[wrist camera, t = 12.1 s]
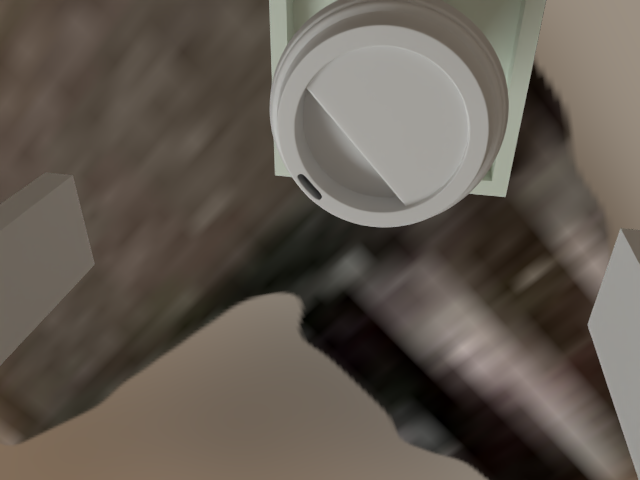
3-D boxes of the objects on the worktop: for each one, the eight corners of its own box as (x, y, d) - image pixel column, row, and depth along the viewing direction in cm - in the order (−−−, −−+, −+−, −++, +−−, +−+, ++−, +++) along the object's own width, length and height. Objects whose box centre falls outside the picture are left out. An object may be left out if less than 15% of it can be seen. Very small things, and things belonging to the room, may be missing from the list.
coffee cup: (304, -11, 33) (216, 47, 20) (469, -70, 30) (485, -46, 17) (353, 138, 37) (304, 263, 25) (502, 100, 34) (533, 219, 21)
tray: (277, -125, 31) (264, -127, 29) (562, -123, 29) (572, -125, 26) (284, 160, 40) (275, 175, 38) (502, 180, 37) (505, 197, 35)
